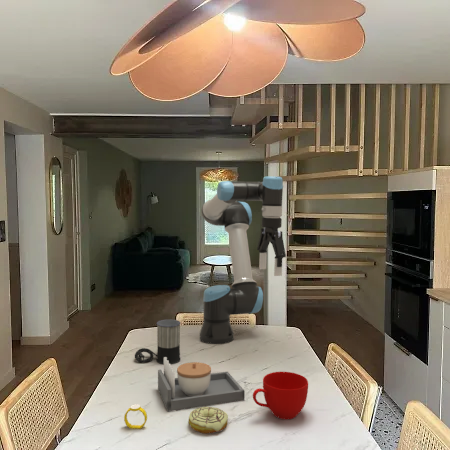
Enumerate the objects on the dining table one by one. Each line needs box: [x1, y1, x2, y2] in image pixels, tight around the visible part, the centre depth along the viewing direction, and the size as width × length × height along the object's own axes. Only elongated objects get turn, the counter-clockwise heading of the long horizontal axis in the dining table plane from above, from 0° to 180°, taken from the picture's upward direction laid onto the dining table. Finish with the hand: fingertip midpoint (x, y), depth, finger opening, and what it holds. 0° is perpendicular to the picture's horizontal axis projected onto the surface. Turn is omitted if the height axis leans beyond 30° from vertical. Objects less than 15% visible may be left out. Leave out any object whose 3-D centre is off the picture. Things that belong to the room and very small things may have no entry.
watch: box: [123, 403, 148, 430], centre depth 119 cm, size 6×3×6 cm, turn 86°
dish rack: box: [157, 357, 246, 412], centre depth 140 cm, size 16×24×11 cm, turn 109°
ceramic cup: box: [252, 371, 309, 420], centre depth 126 cm, size 13×17×10 cm
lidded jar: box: [176, 361, 212, 396], centre depth 139 cm, size 11×11×9 cm
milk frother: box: [134, 318, 181, 365], centre depth 169 cm, size 14×16×15 cm
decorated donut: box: [188, 406, 229, 435], centre depth 121 cm, size 10×11×4 cm
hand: (270, 272), depth 169 cm, fingers open, 13 cm apart
